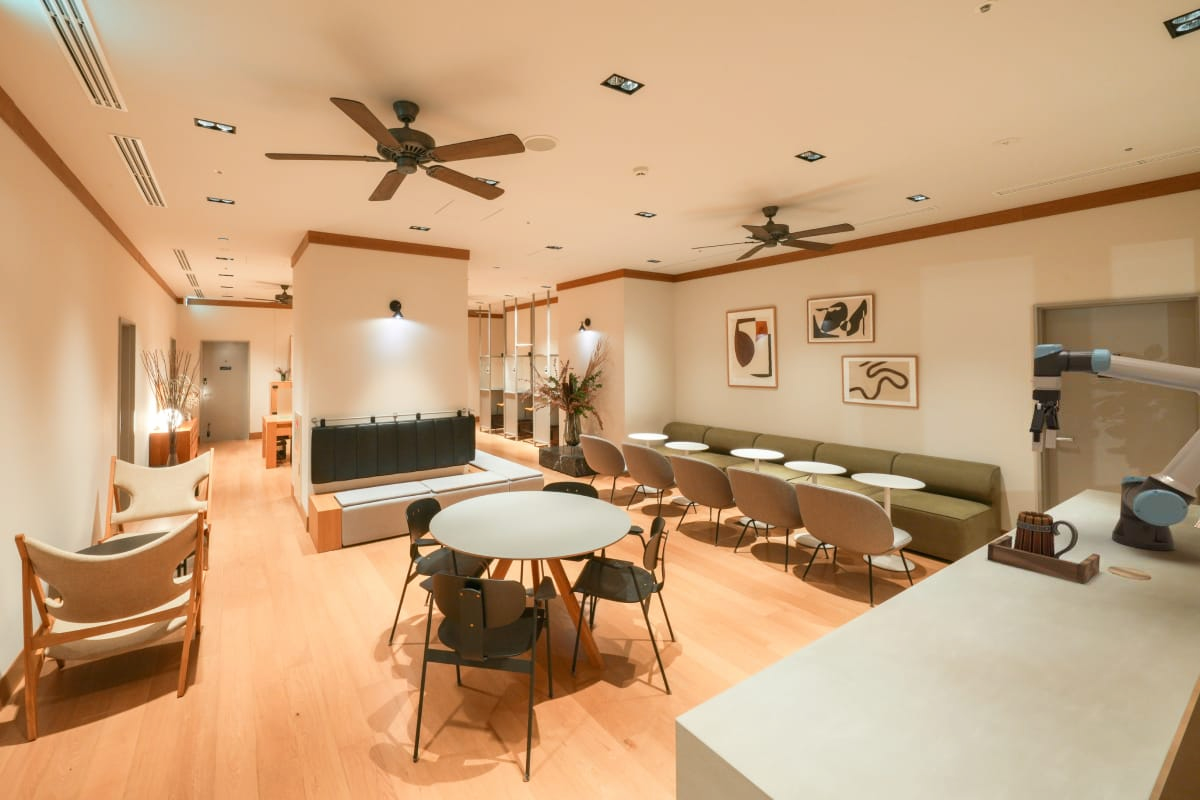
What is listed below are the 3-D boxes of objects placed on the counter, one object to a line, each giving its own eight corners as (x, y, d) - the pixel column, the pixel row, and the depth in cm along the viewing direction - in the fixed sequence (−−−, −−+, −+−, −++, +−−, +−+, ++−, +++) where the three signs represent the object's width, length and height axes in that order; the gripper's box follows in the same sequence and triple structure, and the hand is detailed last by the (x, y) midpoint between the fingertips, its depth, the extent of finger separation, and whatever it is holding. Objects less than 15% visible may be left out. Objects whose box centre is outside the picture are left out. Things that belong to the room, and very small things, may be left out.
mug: (1005, 559, 168) (1007, 512, 167) (1022, 553, 173) (1023, 508, 172) (1066, 576, 155) (1069, 525, 154) (1083, 569, 160) (1085, 520, 159)
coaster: (1111, 566, 163) (1112, 564, 163) (1153, 576, 155) (1154, 573, 155) (1104, 573, 157) (1104, 570, 157) (1147, 583, 150) (1147, 580, 150)
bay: (1006, 549, 177) (1006, 535, 177) (1099, 571, 158) (1099, 554, 158) (987, 559, 168) (988, 544, 168) (1083, 583, 149) (1084, 566, 149)
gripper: (1045, 387, 195) (1042, 445, 196) (1020, 389, 181) (1017, 451, 182) (1071, 388, 189) (1069, 447, 190) (1048, 390, 174) (1045, 454, 176)
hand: (1043, 449), depth 186 cm, fingers open, 13 cm apart
